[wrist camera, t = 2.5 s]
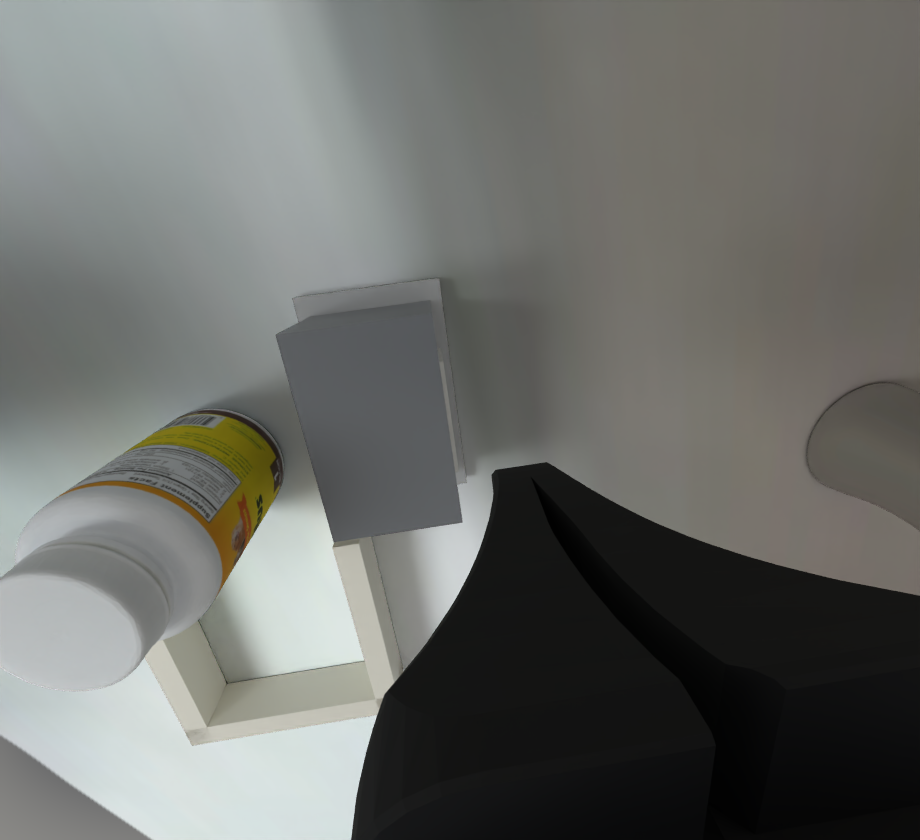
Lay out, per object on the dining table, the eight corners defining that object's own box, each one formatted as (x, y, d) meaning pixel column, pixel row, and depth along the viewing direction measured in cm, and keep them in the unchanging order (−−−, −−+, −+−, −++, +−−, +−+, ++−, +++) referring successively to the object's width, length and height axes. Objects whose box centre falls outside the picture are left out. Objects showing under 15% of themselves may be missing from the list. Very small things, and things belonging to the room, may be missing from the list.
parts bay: (213, 701, 26) (192, 745, 23) (138, 547, 22) (104, 582, 19) (403, 670, 26) (401, 710, 24) (365, 513, 22) (358, 543, 20)
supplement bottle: (245, 529, 22) (106, 743, 12) (140, 464, 20) (-114, 653, 11) (313, 454, 21) (219, 625, 11) (208, 378, 19) (-8, 503, 9)
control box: (346, 495, 21) (325, 561, 17) (296, 297, 18) (252, 311, 13) (465, 476, 22) (477, 537, 17) (438, 277, 18) (444, 285, 14)
